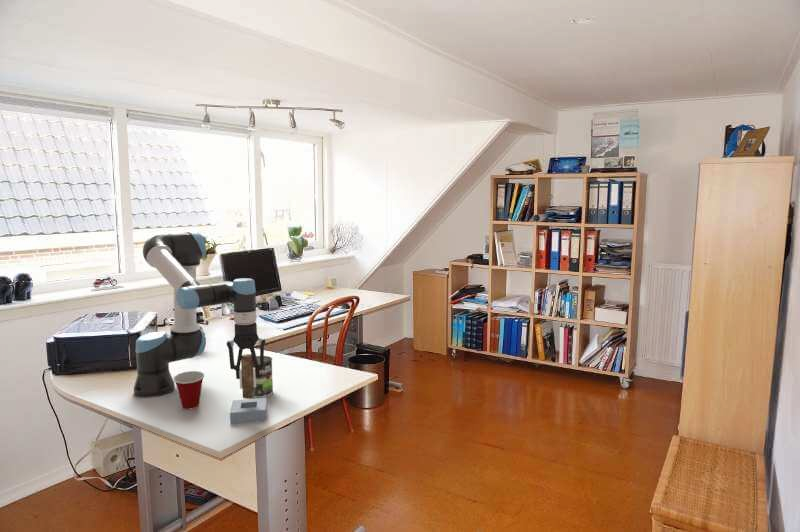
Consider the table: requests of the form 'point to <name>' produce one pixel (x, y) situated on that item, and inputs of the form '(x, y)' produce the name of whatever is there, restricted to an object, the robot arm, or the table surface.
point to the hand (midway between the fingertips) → (248, 386)
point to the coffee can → (264, 379)
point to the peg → (247, 376)
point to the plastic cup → (189, 388)
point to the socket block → (248, 410)
